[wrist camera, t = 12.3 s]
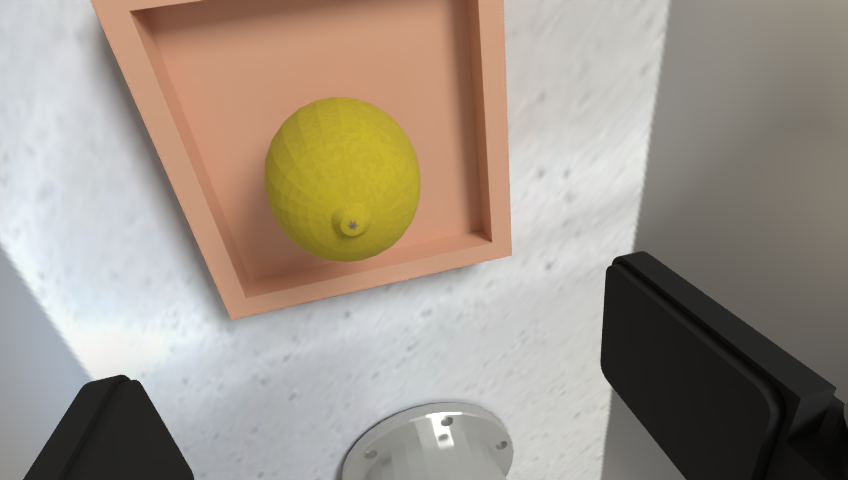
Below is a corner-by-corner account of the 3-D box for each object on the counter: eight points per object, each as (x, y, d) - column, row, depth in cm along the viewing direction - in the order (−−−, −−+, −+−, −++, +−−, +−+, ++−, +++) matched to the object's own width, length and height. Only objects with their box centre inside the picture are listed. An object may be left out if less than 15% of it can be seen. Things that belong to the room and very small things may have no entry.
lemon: (421, 162, 21) (473, 245, 14) (322, 222, 22) (327, 331, 15) (357, 52, 18) (384, 91, 12) (244, 125, 19) (206, 204, 12)
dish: (494, 233, 25) (511, 255, 23) (238, 290, 23) (231, 320, 21) (478, -68, 18) (501, -76, 16) (111, -18, 16) (81, -20, 14)
